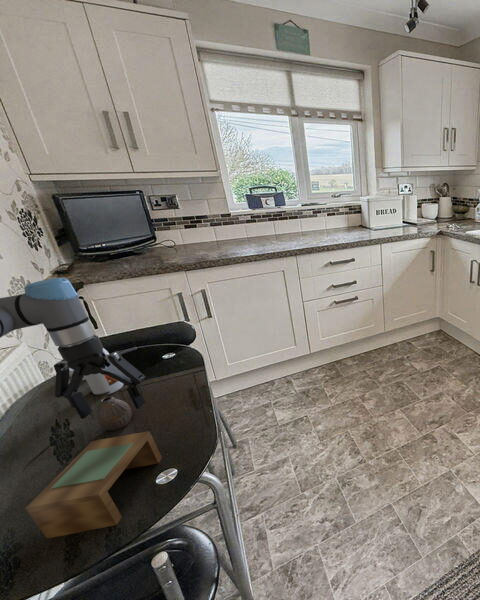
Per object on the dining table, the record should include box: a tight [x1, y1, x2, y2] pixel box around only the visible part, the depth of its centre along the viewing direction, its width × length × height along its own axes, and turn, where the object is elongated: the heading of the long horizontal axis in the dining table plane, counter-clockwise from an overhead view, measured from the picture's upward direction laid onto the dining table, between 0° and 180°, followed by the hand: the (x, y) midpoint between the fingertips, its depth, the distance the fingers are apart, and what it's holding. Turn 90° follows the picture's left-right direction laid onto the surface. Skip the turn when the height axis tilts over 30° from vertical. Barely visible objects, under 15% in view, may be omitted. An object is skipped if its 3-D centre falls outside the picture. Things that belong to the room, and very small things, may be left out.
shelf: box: [24, 430, 163, 540], centre depth 67 cm, size 12×16×8 cm
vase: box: [96, 395, 133, 431], centre depth 87 cm, size 7×7×9 cm
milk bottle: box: [84, 347, 124, 396], centre depth 103 cm, size 8×8×20 cm
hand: (114, 410), depth 87 cm, fingers open, 13 cm apart
